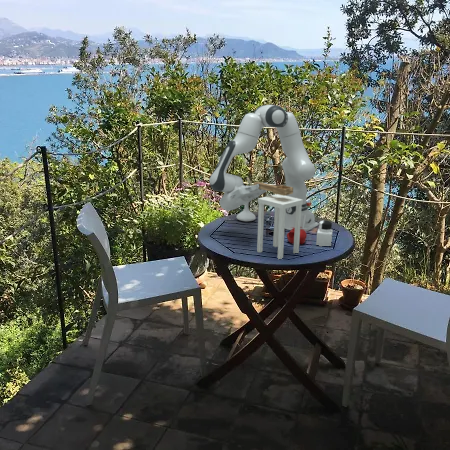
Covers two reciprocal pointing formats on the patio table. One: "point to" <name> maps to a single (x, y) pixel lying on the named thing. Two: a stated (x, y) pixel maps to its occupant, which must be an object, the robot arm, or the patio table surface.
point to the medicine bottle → (324, 234)
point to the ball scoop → (276, 188)
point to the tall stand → (279, 221)
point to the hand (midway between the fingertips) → (261, 184)
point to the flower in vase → (246, 210)
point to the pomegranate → (291, 236)
